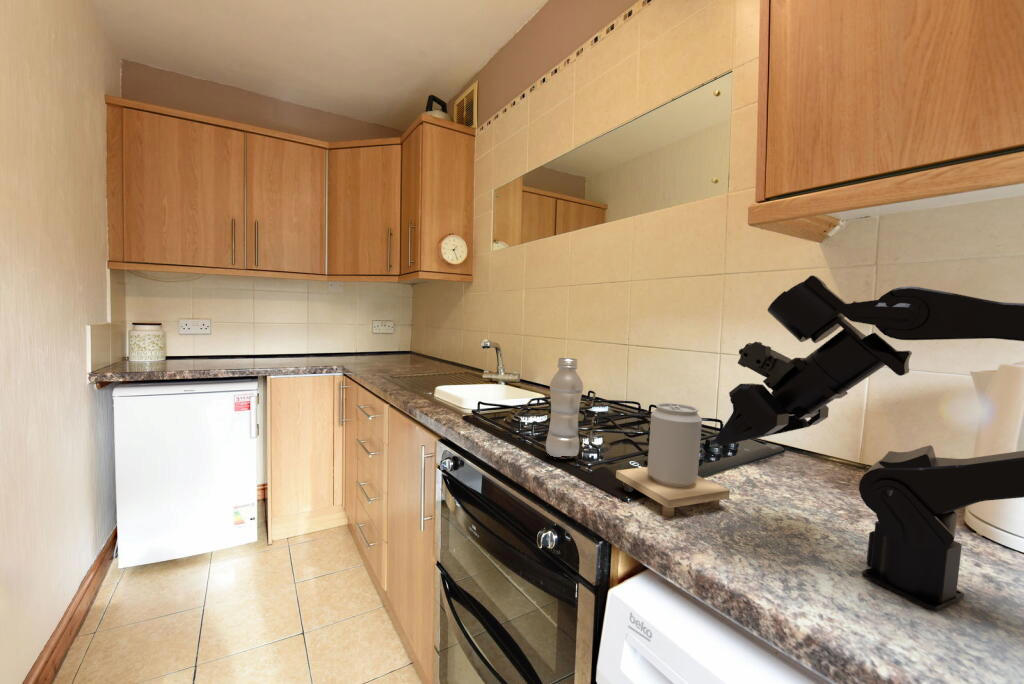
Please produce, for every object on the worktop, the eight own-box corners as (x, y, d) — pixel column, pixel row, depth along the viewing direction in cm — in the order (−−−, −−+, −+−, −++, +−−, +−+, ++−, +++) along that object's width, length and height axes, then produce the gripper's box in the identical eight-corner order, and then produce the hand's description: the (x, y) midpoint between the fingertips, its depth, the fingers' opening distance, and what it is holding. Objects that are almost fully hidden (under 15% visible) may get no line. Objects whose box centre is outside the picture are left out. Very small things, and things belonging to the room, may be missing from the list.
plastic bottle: (541, 453, 88) (546, 356, 87) (572, 452, 90) (578, 357, 88) (549, 463, 82) (555, 359, 81) (583, 463, 83) (589, 361, 82)
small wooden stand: (728, 509, 65) (729, 490, 65) (667, 520, 61) (669, 499, 60) (670, 480, 76) (671, 464, 76) (615, 488, 72) (616, 470, 71)
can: (656, 488, 64) (662, 409, 64) (640, 470, 72) (645, 399, 71) (705, 490, 64) (712, 412, 64) (685, 472, 72) (690, 402, 71)
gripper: (808, 328, 63) (727, 393, 72) (751, 317, 51) (663, 396, 60) (872, 388, 57) (775, 451, 66) (824, 392, 45) (714, 467, 54)
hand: (733, 439), depth 62 cm, fingers open, 9 cm apart
